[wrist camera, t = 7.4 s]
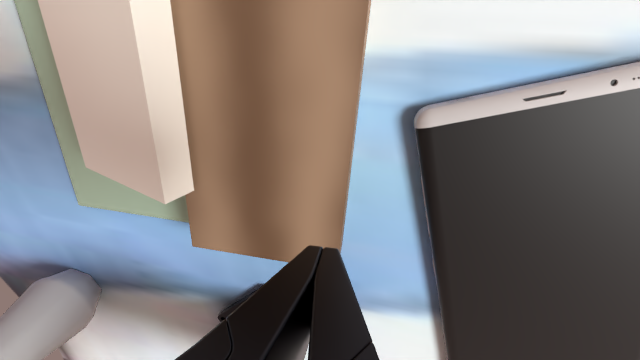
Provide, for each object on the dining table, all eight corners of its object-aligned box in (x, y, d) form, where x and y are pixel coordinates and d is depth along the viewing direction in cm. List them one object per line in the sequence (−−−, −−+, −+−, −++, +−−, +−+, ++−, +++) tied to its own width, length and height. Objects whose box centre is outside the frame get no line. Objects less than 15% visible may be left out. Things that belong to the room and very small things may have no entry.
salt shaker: (116, 282, 30) (-51, 446, 18) (104, 316, 32) (-48, 479, 21) (57, 251, 29) (-153, 400, 18) (50, 288, 32) (-137, 440, 20)
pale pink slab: (193, 190, 20) (165, 204, 18) (115, 158, 23) (85, 167, 21) (167, -22, 15) (124, -29, 13) (72, -24, 18) (29, -29, 16)
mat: (197, -120, 16) (191, -124, 15) (225, 224, 25) (222, 227, 24) (-16, -124, 17) (-27, -128, 17) (84, 202, 26) (78, 205, 26)
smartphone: (450, 390, 30) (454, 411, 28) (409, 106, 19) (412, 113, 17) (622, 393, 26) (637, 416, 25) (691, 47, 16) (725, 50, 14)
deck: (384, -115, 15) (385, -146, 12) (342, 242, 23) (337, 270, 21) (177, -120, 16) (136, -149, 13) (212, 222, 25) (192, 246, 22)
